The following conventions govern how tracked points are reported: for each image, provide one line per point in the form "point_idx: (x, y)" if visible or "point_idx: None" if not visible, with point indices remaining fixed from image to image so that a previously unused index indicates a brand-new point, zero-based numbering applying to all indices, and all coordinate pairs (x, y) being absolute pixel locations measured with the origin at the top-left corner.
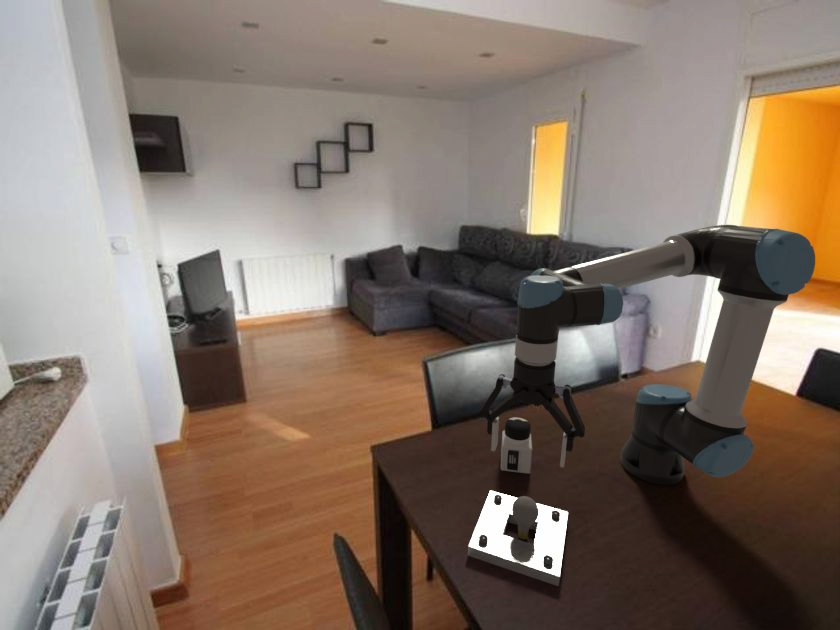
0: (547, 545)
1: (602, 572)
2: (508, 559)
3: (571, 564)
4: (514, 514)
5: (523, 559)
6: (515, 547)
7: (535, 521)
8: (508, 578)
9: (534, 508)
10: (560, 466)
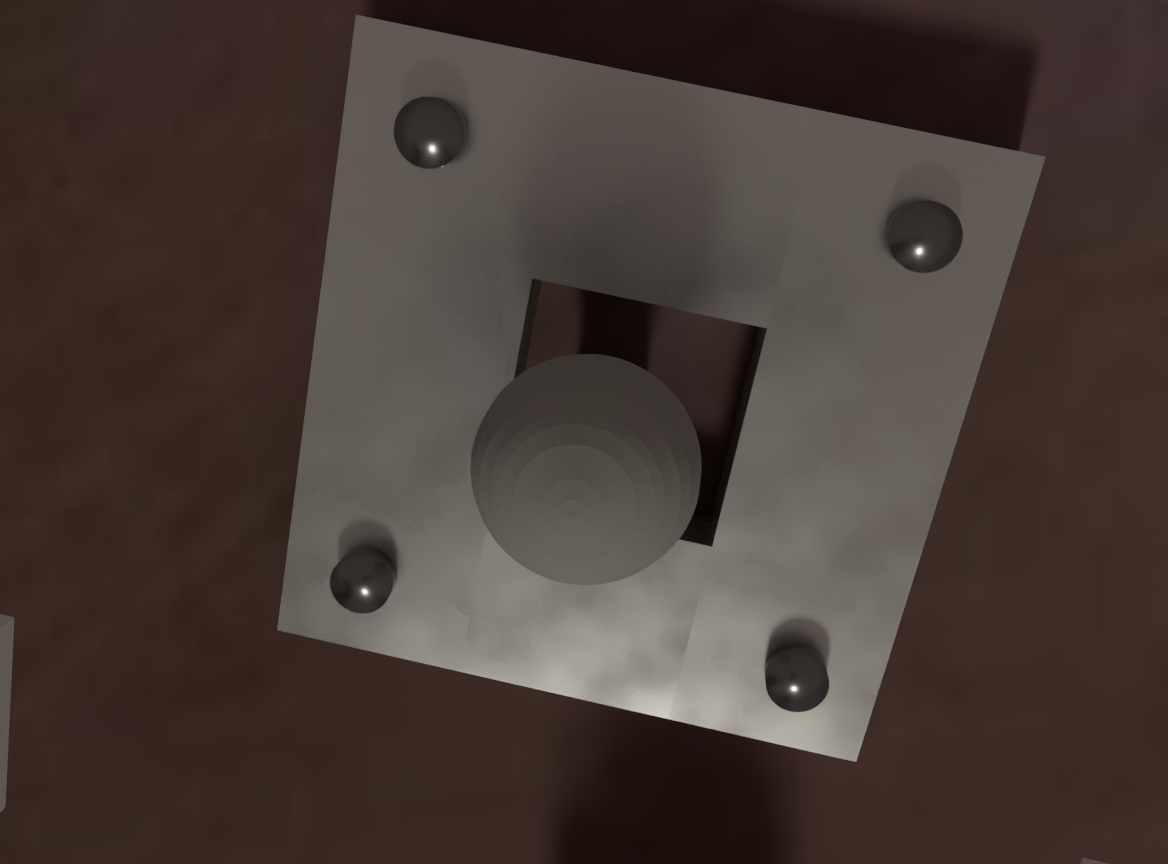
0: (433, 286)
1: (104, 201)
2: (724, 92)
3: (292, 226)
4: (681, 405)
5: (611, 117)
6: (668, 222)
7: None
8: (718, 13)
9: (501, 442)
10: (1, 618)
